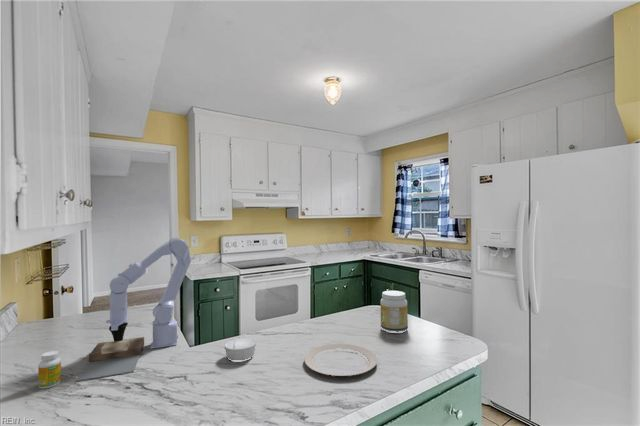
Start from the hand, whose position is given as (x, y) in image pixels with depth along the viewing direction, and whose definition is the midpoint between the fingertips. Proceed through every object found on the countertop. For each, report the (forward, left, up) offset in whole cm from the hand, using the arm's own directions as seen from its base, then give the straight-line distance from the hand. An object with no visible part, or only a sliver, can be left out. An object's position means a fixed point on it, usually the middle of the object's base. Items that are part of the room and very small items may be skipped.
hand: (118, 343), depth 122 cm
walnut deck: (0, 0, -4) cm, 4 cm away
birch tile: (0, +4, -1) cm, 4 cm away
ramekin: (-43, +23, -4) cm, 49 cm away
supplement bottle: (+15, +19, -4) cm, 24 cm away
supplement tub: (-112, +22, -4) cm, 114 cm away
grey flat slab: (0, +13, -4) cm, 14 cm away
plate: (-75, +42, -4) cm, 86 cm away
